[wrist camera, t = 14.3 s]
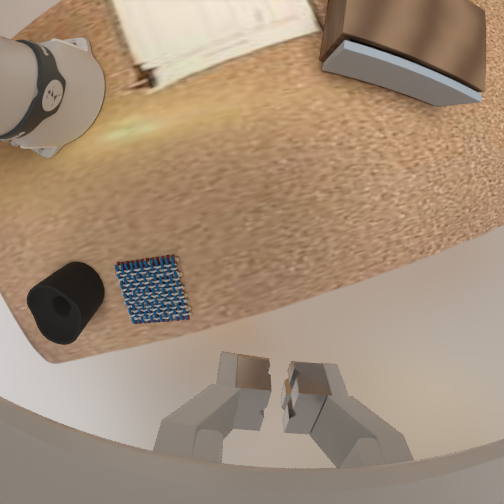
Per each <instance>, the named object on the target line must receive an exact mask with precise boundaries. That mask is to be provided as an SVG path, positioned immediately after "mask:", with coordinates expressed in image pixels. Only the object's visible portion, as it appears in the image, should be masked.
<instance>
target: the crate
mask: <svg viewBox="0 0 504 504" xmlns="http://www.w3.org/2000/svg"><path fill="white" fill-rule="evenodd" d="M344 40H347V41H350V42H354V43H357V44H361V45H364V46H367V47H370V48H373V49H377V50H380V51H383V52H386V53H388V54H391V55H394V56H397V57H400V58H402V59H405V60H408V61H410V62H413V63H415V64H418V65H420V66H423V67H425V68H427V69H430V70H432V71H434V72H437V73H439V74H441V75H443V76H446V77H448V78H450V79H452V80H454V81H456V82H458V83H460V84H462V85H464V86H466V87H468V88H470V89H472V90H474V91H476V92H483V91H485V76H486V21H485V11H484V10H483V9H481V8H480V7H478V6H476V5H475V4H473V3H471V2H470V1H468V0H328V6H327V13H326V19H325V26H324V32H323V39H322V45H321V52H320V58H319V60H320V61H324V62H325V61H326V59H327V58H328V57H329V56H330V55H331V54H332V53H333V52H334V51H335V50H336V49H337V48H338V47H339V46H340V44H341V43H342V42H343V41H344Z"/></svg>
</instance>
